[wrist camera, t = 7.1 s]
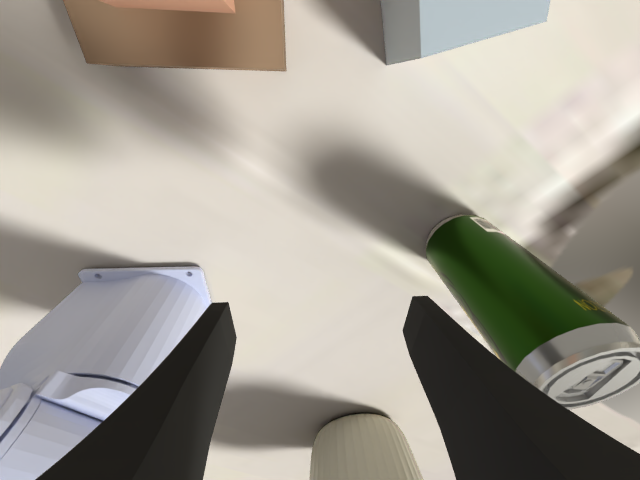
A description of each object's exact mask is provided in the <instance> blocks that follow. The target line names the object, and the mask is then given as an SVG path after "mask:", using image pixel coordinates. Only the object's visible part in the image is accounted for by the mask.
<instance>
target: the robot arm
mask: <svg viewBox="0 0 640 480" xmlns="http://www.w3.org/2000/svg"><path fill="white" fill-rule="evenodd" d="M189 272H191V273H192V274H191V273H189ZM99 274H100V275H99ZM78 276H79V278H80V280H81V281H82V283H81V284H80V285H79V286H78V287H76V288H75V289H74V290H73V291H72V292H71V293H70V294H69V295H68V296H67V297H66V298H64V299H63V300H62V301H61V302H60V303H59V304H58V305H57V306H56V307H55V308H54V309H52V310H51V311H50V312H49V313H48V314H47V315H46V316H45V317H44V318H43V319H42V320H40V321H39V322H38V323H37V324H36V325H35V326H34V327H33V328H32V329H31V330H29V331H28V332H27V333H26V334H25V335H24V336H23V337H22V338H21V339H20V340H19V341H18V342H17V343H16V344H15V345H14V346H13V348H12V349H11V350H10V352H9V353H8V355H7V356H6V358H5V360H4V361H3V363H2V366H1V368H0V480H203V476H204V471H205V466H206V461H207V456H208V451H209V446H210V442H211V438H212V434H213V430H214V426H215V423H216V419H217V416H218V412H219V409H220V405H221V402H222V398H223V395H224V391H225V388H226V384H227V381H228V377H229V373H230V370H231V366H232V361H233V356H234V350H235V344H236V333H235V329H234V325H233V320H232V316H231V312H230V307H229V303H228V302H223V303H212V301H211V298H210V294H209V291H208V287H207V284H206V280H205V276H204V273H203V270H202V269H201V268H200V267H196V266H192V267H147V268H102V269H82V270H81V271H80V272H79V273H78ZM403 334H404V337H405V341H406V345H407V348H408V351H409V354H410V357H411V360H412V362H413V365H414V367H415V369H416V372H417V374H418V377H419V379H420V381H421V384H422V386H423V388H424V391H425V393H426V395H427V398H428V400H429V403H430V405H431V407H432V410H433V412H434V414H435V417H436V419H437V422H438V425H439V427H440V430H441V433H442V436H443V439H444V442H445V445H446V448H447V451H448V454H449V457H450V460H451V463H452V467H453V470H454V473H455V477H456V480H640V454H639V453H637V452H635V451H634V450H632V449H630V448H629V447H627V446H625V445H624V444H622V443H620V442H618V441H617V440H615V439H613V438H612V437H610V436H609V435H607V434H605V433H604V432H602V431H601V430H599V429H597V428H596V427H594V426H593V425H591V424H589V423H588V422H586V421H585V420H583V419H582V418H580V417H579V416H577V415H576V414H574V413H573V412H571V411H570V410H568V409H567V408H565V407H564V406H562V405H561V404H559V403H558V402H556V401H555V400H553V399H552V398H550V397H549V396H548V395H546V394H545V393H543V392H542V391H541V390H539V389H538V388H536V387H535V386H534V385H532V384H531V383H530V382H528V381H527V380H525V379H524V378H523V377H521V376H520V375H519V374H517V373H516V372H515V371H513V370H512V369H511V368H510V367H508V366H507V365H506V364H505V363H503V362H502V361H501V360H500V359H498V358H497V357H496V356H495V355H493V354H492V353H491V352H490V351H489V350H487V349H486V348H485V347H484V346H483V345H481V344H480V343H479V342H478V341H477V340H476V339H474V338H473V337H472V336H471V335H470V334H469V333H468V332H467V331H465V330H464V329H463V328H462V327H461V326H460V325H459V324H458V323H457V322H455V321H454V320H453V319H452V318H451V317H450V316H449V315H448V314H447V313H446V312H445V311H443V310H442V309H441V308H440V307H439V306H438V305H437V304H436V303H435V302H434V301H433V300H431V299H430V298H429V297H428V296H413V297H412V300H411V304H410V307H409V311H408V314H407V317H406V321H405V324H404V328H403Z"/></svg>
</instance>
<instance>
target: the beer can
mask: <svg viewBox="0 0 640 480" xmlns="http://www.w3.org/2000/svg"><path fill="white" fill-rule="evenodd" d="M426 257H427V259H428V261H429V262H430V264H431V265H432V267H433V268H434V270H435V271H436V272H437V274H438V275H439V277H440V278H441V279H442V281H443V282H444V284H445V285H446V286H447V288H448V289H449V291H450V292H451V293H452V295H453V296H454V298H455V299H456V300H457V302H458V303H459V304H460V306H461V307H462V309H463V310H464V311H465V313H466V314H467V316H468V317H469V318H470V320H471V321H472V323H473V324H474V325H475V327H476V328H477V330H478V331H479V332H480V334H481V335H482V337H483V338H484V339H485V341H486V342H487V343H488V345H489V346H490V348H491V349H492V350H493V352H494V353H495V355H496V356H497V357H498V359H500V360H501V361H502V362H503V363H505V364H506V365H507V366H508V367H510V368H511V369H512V370H513V371H515V372H516V373H517V374H519V375H520V376H521V377H523V378H524V379H525V380H527V381H528V382H530V383H531V384H532V385H534V386H535V387H536V388H538V389H539V390H541V391H542V392H543V393H545V394H546V395H548V396H549V397H550V398H552V399H553V400H555V401H556V402H558V403H559V404H561V405H562V406H564V407H565V408H567V409H568V410H569V409H575V408H580V407H585V406H589V405H592V404H596V403H599V402H602V401H605V400H607V399H609V398H612V397H614V396H617V395H619V394H621V393H623V392H625V391H627V390H628V389H630V388H632V387H634V386H635V385H637V384H638V383H640V339H639V338H638V336H637V334H636V333H635V332H634V330H633V329H632V328H631V327H630V326H628V325H627V324H626V323H625V322H623V321H622V320H620V319H619V318H618V317H616V316H615V315H614V314H612V313H611V312H610V311H608V310H607V309H606V308H604V307H603V306H602V305H600V304H599V303H597V302H596V301H595V300H593V299H592V298H591V297H589V296H588V295H587V294H585V293H584V292H583V291H581V290H580V289H579V288H577V287H576V286H575V285H573V284H572V283H570V282H569V281H567V280H566V279H565V278H564V277H562V276H561V275H559V274H558V273H557V272H556V271H554V270H553V269H552V268H550V267H549V266H547V265H546V264H545V263H543V262H542V261H541V260H539V259H538V258H537V257H535V256H534V255H533V254H531V253H530V252H529V251H527V250H526V249H525V248H523V247H522V246H520V245H519V244H518V243H516V242H515V241H514V240H512V239H511V238H510V237H508V236H507V235H506V234H504V233H503V232H502V231H500V230H499V229H497V228H496V227H495V226H493V225H492V224H491V223H489V222H488V221H487V220H485V219H484V218H481V217H479V216H476V215H455V216H452V217H449V218H447V219H445V220H443V221H441V222H440V223H439V224H438V225H437V226H436V227H434V228H433V230H432V231H431V233H430V234H429V236H428V238H427V242H426Z"/></svg>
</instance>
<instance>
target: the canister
mask: <svg viewBox="0 0 640 480" xmlns="http://www.w3.org/2000/svg"><path fill="white" fill-rule="evenodd" d="M310 480H423V478H422V475H421V473H420V470H419V468H418V466H417V463H416V461H415V458H414V456H413V454H412V451H411V449H410V446H409V444H408V442H407V440H406V438H405V436H404V434H403V432H402V431H401V430H400V428H399V427H398V426H397V425H396V424H395V423H394V422H393V421H392V420H390V419H389V418H386V417H384V416H381V415H376V414H355V415H349V416H344V417H341V418H338V419H336V420H333V421H332V422H329V423H328V424H327V425H325V426H324V427H323V428H322V429H321V430H320V431H319V433H318V434H317V436H316V438H315V441H314V444H313V448H312V455H311V466H310Z"/></svg>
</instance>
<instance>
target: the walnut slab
mask: <svg viewBox="0 0 640 480" xmlns="http://www.w3.org/2000/svg"><path fill="white" fill-rule="evenodd" d="M63 1H64V4H65V7H66V9H67V12H68V15H69V17H70V20H71V23H72V25H73V28H74V31H75V33H76V36H77V39H78V41H79V44H80V46H81V49H82V52H83V54H84V57H85V60H86V62H87V63H89V64H100V65H111V66H125V67H159V68H193V69H226V70H260V71H286V51H285V25H284V0H234V5H235V13H218V12H199V11H180V10H161V9H142V8H123V7H114V6H111V5H109V4H106V3H104V2H101V1H99V0H63Z"/></svg>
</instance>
